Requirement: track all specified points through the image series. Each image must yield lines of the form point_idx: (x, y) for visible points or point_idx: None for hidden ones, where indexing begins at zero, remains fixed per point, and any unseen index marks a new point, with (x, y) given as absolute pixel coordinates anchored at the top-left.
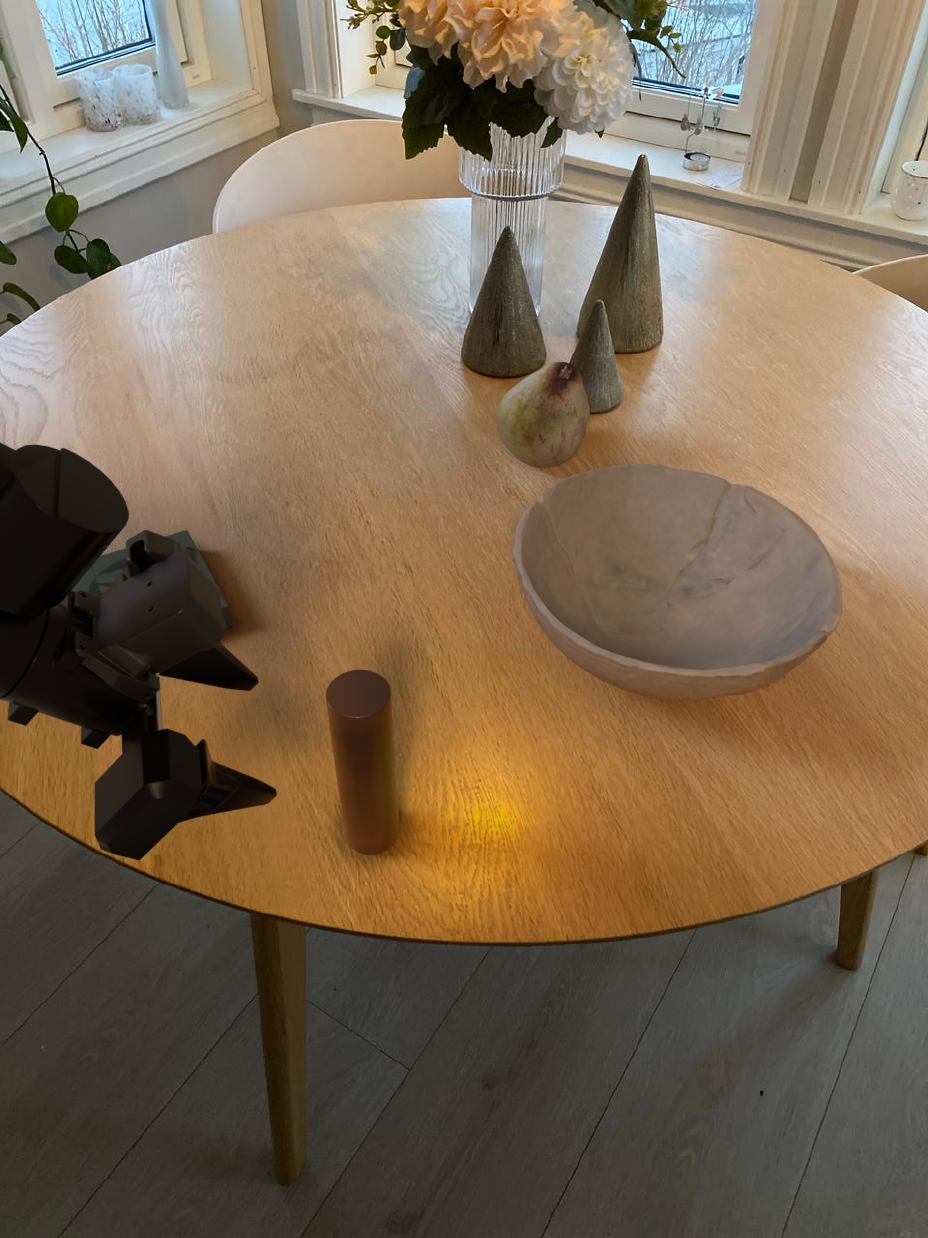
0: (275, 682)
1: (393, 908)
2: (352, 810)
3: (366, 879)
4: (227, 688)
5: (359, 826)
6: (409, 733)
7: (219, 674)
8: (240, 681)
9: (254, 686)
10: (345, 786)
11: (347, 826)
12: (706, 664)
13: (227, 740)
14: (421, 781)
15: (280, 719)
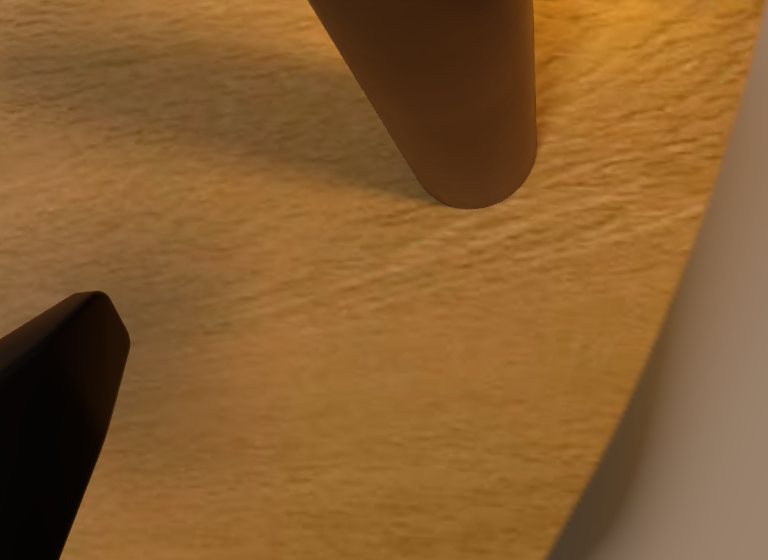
0: None
1: (685, 116)
2: (516, 127)
3: (598, 169)
4: (104, 435)
5: (527, 135)
6: (231, 52)
7: (31, 467)
8: (86, 369)
9: (117, 315)
10: (501, 97)
11: (501, 175)
12: None
13: (157, 460)
14: None
15: (128, 333)
